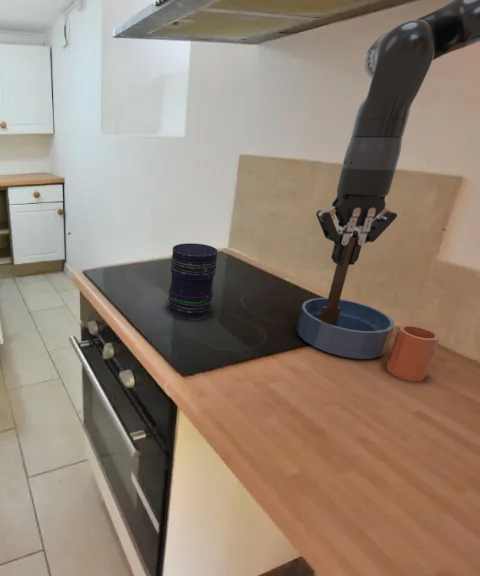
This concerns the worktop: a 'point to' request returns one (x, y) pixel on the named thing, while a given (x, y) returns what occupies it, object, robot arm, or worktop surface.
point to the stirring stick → (337, 288)
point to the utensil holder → (412, 352)
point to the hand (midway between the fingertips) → (343, 263)
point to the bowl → (346, 329)
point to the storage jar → (192, 280)
